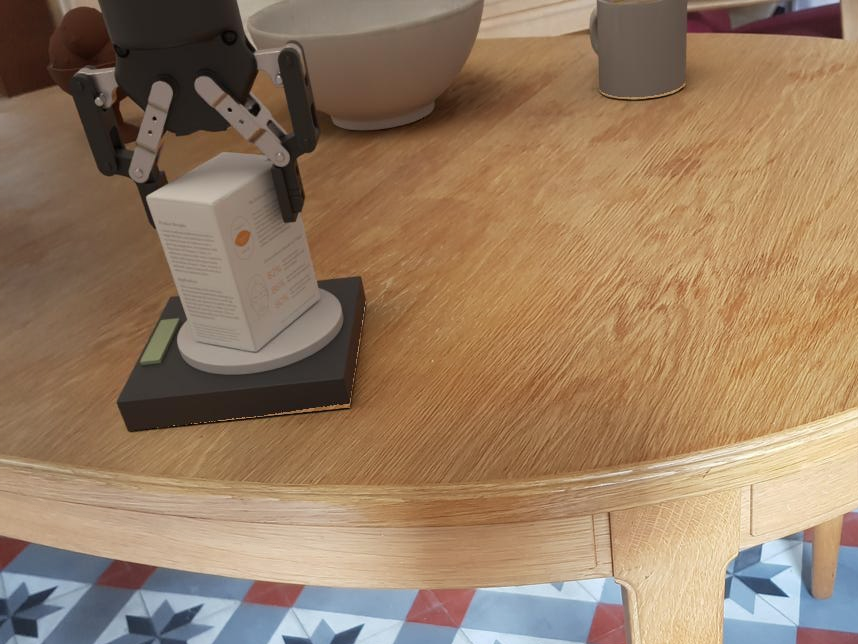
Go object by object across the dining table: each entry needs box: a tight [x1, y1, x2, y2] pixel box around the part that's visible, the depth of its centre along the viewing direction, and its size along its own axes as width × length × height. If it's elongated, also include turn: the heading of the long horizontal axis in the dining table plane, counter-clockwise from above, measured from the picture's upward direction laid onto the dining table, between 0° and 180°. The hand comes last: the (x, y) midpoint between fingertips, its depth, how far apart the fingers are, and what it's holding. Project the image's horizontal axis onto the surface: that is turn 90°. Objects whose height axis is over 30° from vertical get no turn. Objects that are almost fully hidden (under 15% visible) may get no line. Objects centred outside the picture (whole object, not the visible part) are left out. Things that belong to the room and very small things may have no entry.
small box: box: [146, 151, 320, 352], centre depth 63 cm, size 8×6×10 cm
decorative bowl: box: [246, 0, 485, 131], centre depth 110 cm, size 27×27×12 cm
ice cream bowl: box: [46, 5, 141, 144], centre depth 113 cm, size 11×11×15 cm
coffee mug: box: [588, 0, 688, 98], centre depth 109 cm, size 13×10×10 cm
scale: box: [115, 275, 367, 432], centre depth 67 cm, size 15×15×3 cm
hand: (231, 225), depth 62 cm, fingers closed on small box, 7 cm apart
